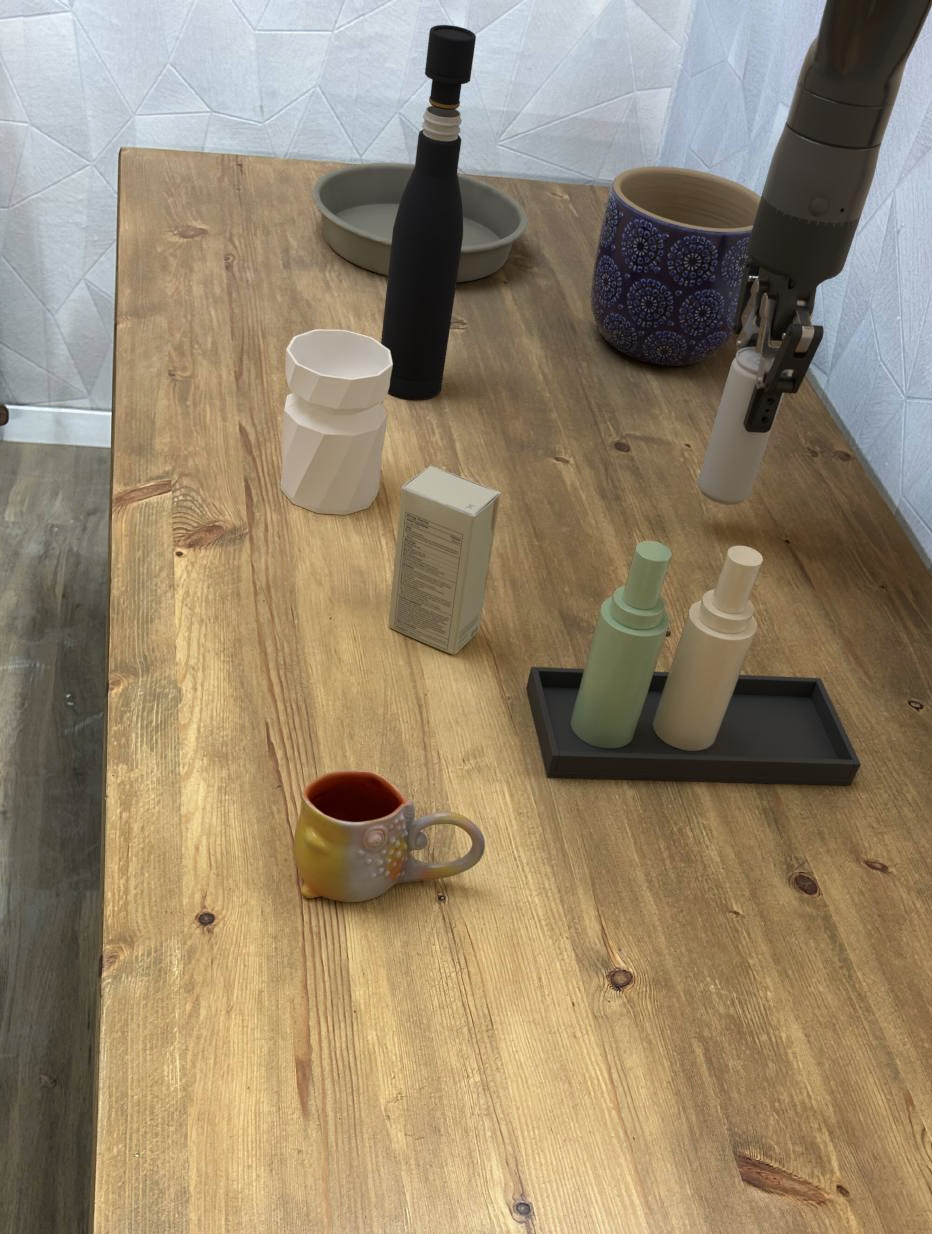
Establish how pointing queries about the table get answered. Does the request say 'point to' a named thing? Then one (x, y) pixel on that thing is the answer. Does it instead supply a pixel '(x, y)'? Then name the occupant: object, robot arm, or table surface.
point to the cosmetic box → (442, 558)
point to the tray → (743, 750)
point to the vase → (334, 420)
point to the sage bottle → (624, 653)
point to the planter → (671, 263)
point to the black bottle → (429, 228)
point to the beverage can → (734, 437)
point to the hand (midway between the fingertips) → (747, 412)
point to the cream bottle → (710, 656)
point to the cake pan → (368, 206)
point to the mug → (367, 838)
